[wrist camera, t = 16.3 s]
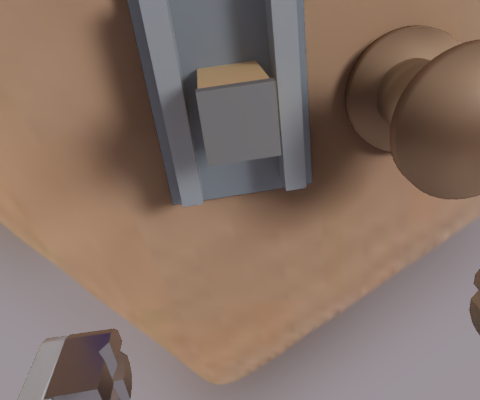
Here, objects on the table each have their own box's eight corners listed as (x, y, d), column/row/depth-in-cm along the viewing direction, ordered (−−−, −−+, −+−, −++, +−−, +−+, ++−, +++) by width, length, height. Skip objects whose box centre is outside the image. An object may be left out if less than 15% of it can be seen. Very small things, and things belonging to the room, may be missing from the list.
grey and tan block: (195, 67, 28) (195, 92, 22) (257, 58, 28) (275, 80, 22) (205, 127, 30) (208, 166, 24) (263, 119, 30) (281, 155, 24)
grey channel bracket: (123, -27, 26) (113, -29, 23) (297, -51, 26) (311, -56, 23) (173, 199, 33) (171, 221, 30) (309, 178, 34) (320, 197, 31)
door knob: (344, 35, 29) (401, 55, 21) (471, 16, 29) (574, 29, 21) (345, 155, 33) (392, 209, 25) (455, 138, 33) (537, 187, 25)
